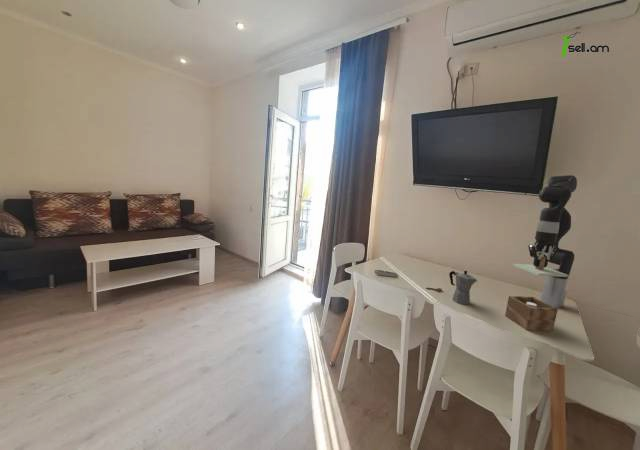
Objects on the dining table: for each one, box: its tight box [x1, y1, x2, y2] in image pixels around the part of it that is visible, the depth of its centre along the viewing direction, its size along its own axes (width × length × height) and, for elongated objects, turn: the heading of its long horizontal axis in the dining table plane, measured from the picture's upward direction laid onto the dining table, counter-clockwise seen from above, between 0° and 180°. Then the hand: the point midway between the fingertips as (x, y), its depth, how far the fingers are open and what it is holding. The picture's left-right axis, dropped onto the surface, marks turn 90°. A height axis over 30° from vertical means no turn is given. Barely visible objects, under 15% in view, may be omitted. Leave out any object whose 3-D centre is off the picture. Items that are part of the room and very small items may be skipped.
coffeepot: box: [448, 270, 478, 306], centre depth 145 cm, size 15×9×18 cm, turn 33°
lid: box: [512, 255, 569, 278], centre depth 120 cm, size 14×14×7 cm
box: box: [504, 295, 559, 332], centre depth 124 cm, size 13×13×11 cm
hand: (539, 266), depth 121 cm, fingers closed on lid, 3 cm apart
